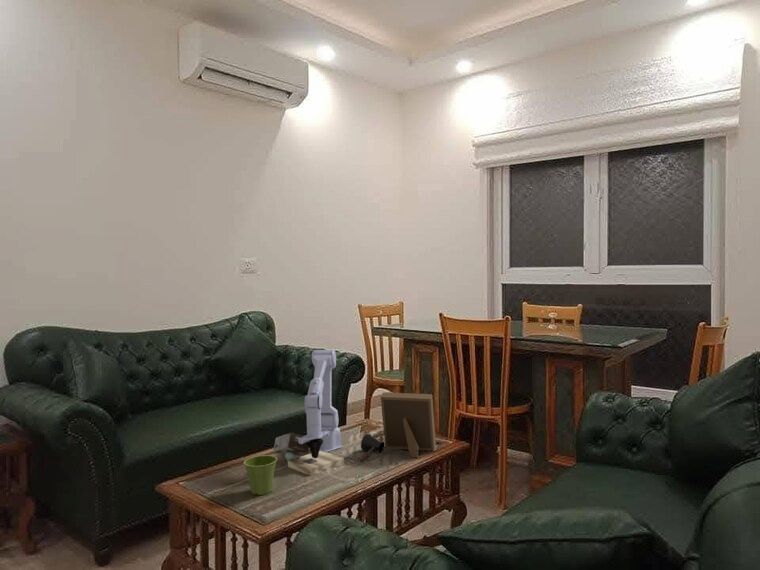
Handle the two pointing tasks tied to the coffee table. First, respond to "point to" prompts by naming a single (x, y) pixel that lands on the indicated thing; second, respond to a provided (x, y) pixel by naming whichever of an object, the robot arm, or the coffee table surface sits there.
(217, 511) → the coffee table surface
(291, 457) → the teal ball
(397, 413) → the photo frame
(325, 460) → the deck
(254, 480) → the plant pot
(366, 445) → the coffee pot
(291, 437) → the coffee box
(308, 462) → the ball
